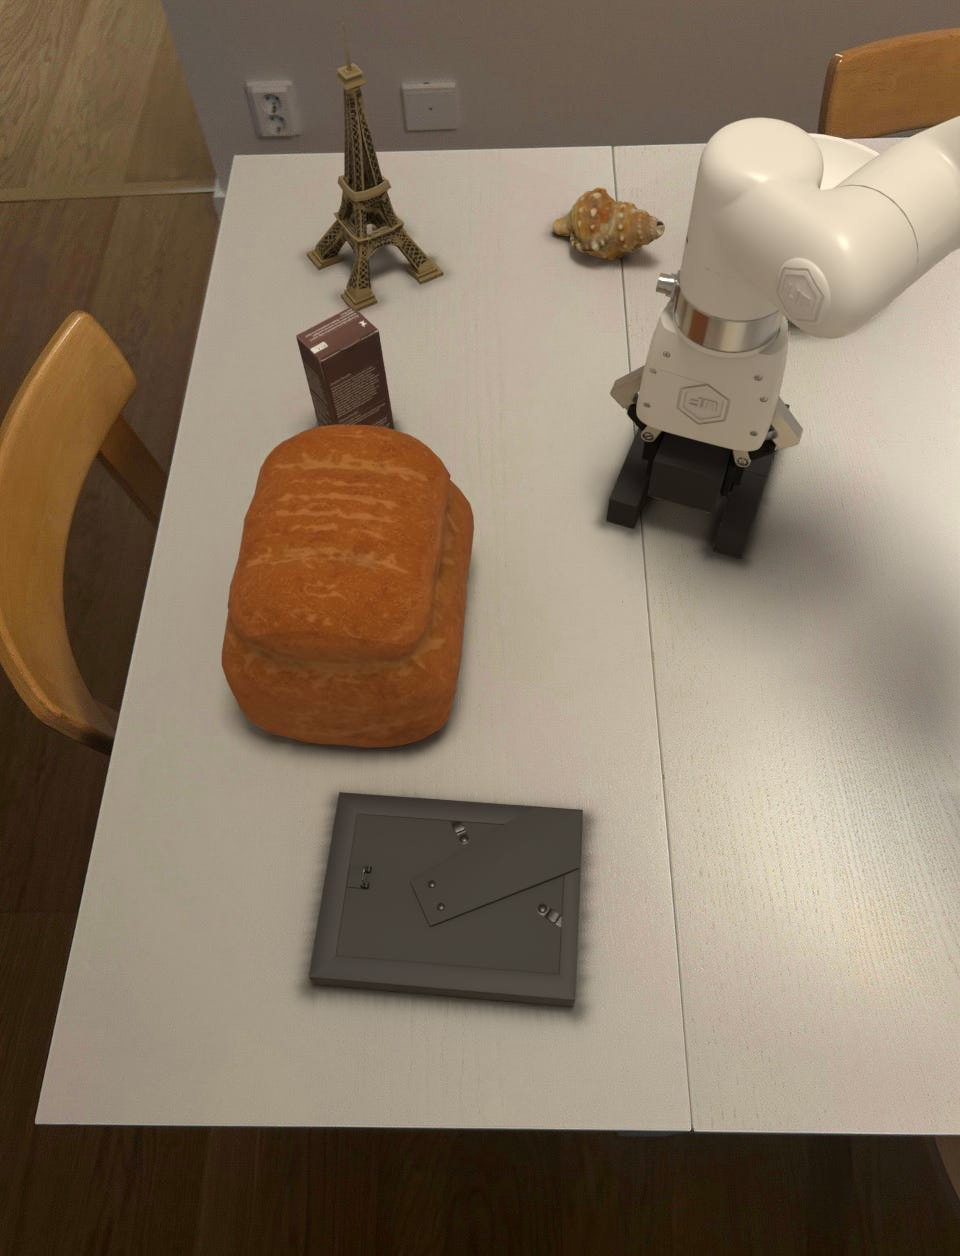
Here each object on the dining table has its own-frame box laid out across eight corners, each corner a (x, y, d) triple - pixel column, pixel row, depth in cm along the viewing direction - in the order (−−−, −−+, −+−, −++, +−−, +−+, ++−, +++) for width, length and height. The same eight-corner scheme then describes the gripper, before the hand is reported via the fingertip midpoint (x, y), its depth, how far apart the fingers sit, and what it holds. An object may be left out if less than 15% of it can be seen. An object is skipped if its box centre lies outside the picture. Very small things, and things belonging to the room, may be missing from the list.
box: (369, 403, 101) (353, 302, 91) (395, 430, 99) (383, 331, 89) (315, 432, 99) (293, 333, 89) (341, 461, 97) (322, 363, 87)
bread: (232, 743, 82) (174, 627, 68) (284, 524, 93) (244, 384, 79) (457, 760, 81) (446, 645, 67) (482, 535, 92) (477, 396, 78)
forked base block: (782, 427, 98) (790, 404, 96) (741, 559, 90) (748, 538, 88) (657, 395, 101) (661, 372, 98) (606, 520, 93) (608, 498, 90)
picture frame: (581, 819, 78) (342, 802, 79) (583, 807, 76) (338, 790, 77) (574, 1007, 71) (312, 984, 72) (575, 999, 69) (306, 976, 70)
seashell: (634, 246, 117) (682, 194, 108) (609, 302, 114) (656, 253, 105) (563, 199, 115) (606, 141, 106) (536, 255, 112) (578, 201, 103)
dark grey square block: (731, 458, 91) (741, 422, 87) (712, 514, 87) (722, 479, 84) (668, 441, 92) (675, 404, 88) (647, 496, 89) (653, 460, 85)
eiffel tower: (393, 220, 115) (368, -22, 94) (443, 274, 110) (428, 32, 89) (307, 255, 112) (260, 14, 91) (353, 312, 108) (316, 72, 86)
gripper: (595, 310, 74) (579, 479, 89) (842, 371, 70) (781, 536, 86) (626, 244, 78) (606, 417, 93) (863, 299, 74) (801, 469, 89)
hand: (690, 473), depth 89 cm, fingers closed on dark grey square block, 5 cm apart
